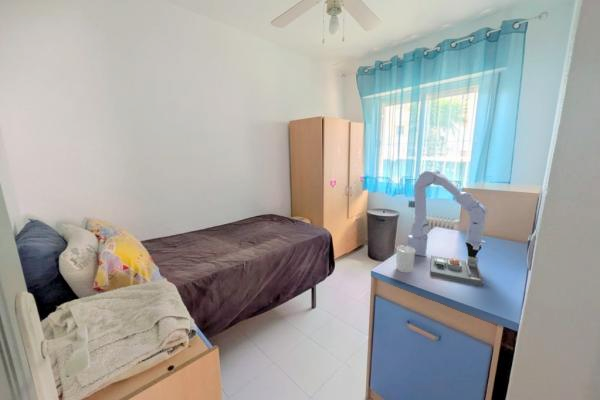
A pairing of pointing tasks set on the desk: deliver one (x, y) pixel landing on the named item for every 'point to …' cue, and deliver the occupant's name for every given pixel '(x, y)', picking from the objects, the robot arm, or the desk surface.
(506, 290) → the desk surface
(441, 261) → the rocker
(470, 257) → the grey boxy piece
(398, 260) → the white cup
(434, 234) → the desk surface
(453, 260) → the push button
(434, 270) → the panel
